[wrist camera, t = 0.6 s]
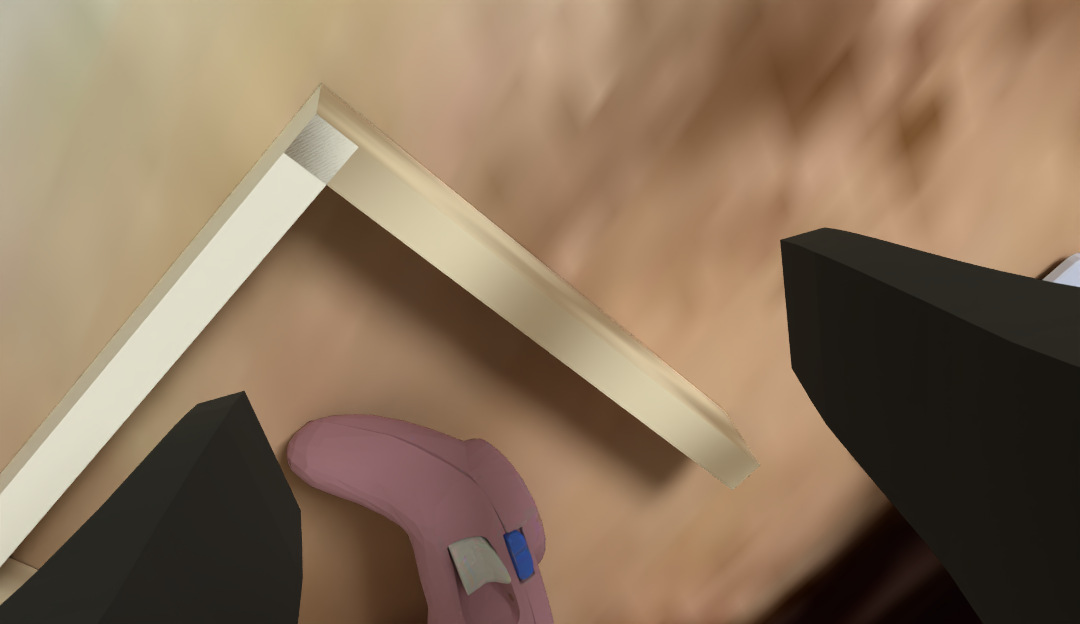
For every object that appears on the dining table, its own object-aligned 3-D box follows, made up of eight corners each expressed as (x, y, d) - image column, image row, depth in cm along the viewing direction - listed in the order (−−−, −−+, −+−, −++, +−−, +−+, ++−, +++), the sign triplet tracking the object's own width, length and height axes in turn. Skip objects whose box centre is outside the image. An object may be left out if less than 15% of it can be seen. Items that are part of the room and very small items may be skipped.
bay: (725, 411, 25) (760, 464, 22) (368, 741, 28) (368, 815, 26) (321, 83, 19) (316, 113, 16) (-69, 557, 22) (-116, 633, 20)
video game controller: (471, 606, 29) (612, 755, 23) (346, 685, 26) (471, 869, 21) (422, 351, 24) (584, 468, 19) (265, 421, 22) (400, 574, 16)
